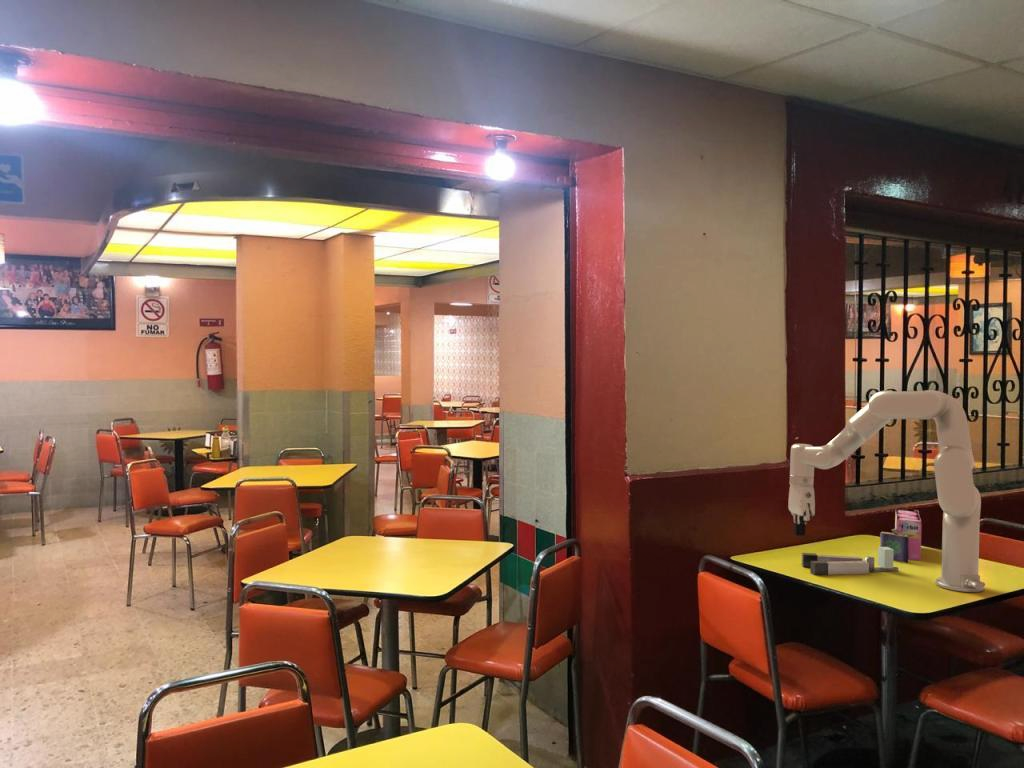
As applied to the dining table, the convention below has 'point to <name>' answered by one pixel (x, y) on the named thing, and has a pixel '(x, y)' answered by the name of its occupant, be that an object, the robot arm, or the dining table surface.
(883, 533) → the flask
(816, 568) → the base
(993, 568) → the dining table surface
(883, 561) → the white upright block
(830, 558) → the tong leg
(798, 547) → the dining table surface
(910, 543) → the gum box
